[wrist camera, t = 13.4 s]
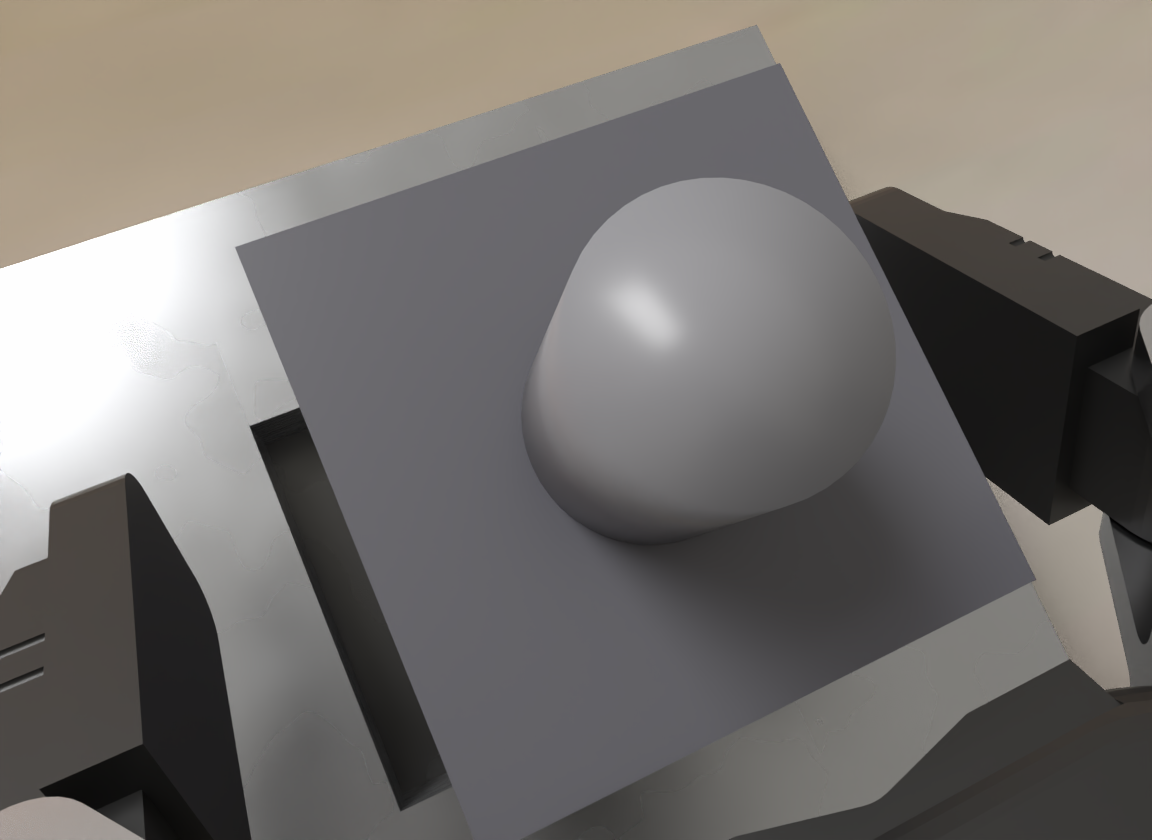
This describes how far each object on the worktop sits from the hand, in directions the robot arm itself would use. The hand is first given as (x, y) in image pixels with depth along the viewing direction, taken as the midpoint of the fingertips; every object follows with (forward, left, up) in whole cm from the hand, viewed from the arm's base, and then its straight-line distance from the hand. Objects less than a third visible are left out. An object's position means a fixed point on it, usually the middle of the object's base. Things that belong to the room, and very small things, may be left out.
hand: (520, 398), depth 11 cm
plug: (0, -1, -7) cm, 7 cm away
